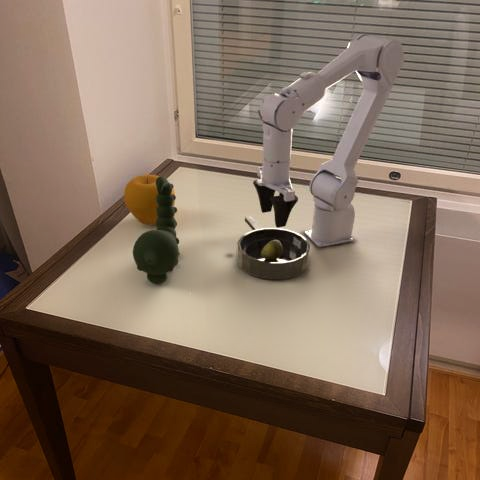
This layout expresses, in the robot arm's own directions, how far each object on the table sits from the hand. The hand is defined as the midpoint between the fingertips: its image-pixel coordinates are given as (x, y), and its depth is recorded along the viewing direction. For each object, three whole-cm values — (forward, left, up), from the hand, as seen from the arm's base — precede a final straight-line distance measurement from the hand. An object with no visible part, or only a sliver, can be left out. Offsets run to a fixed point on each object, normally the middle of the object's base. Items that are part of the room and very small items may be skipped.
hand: (273, 218), depth 111 cm
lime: (+1, +3, -9) cm, 9 cm away
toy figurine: (+25, -4, -10) cm, 27 cm away
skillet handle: (+1, -9, -6) cm, 11 cm away
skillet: (+1, +3, -9) cm, 10 cm away
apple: (+22, -27, -10) cm, 36 cm away
